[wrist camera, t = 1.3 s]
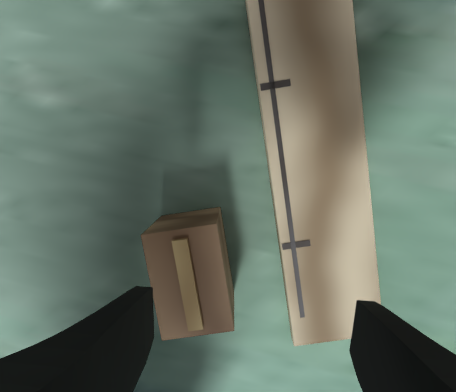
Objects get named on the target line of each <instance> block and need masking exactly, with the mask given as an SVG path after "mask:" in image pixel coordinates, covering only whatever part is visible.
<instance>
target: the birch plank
mask: <svg viewBox="0 0 456 392" xmlns="http://www.w3.org/2000/svg"><path fill="white" fill-rule="evenodd" d="M245 3H246V10H247V18H248V25H249V32H250V39H251V47H252V54H253V61H254V68H255V76H256V83H257V90H258V97H259V105H260V112H261V119H262V126H263V134H264V141H265V148H266V156H267V163H268V170H269V177H270V185H271V192H272V199H273V206H274V214H275V221H276V228H277V235H278V243H279V250H280V257H281V264H282V272H283V279H284V286H285V293H286V301H287V308H288V315H289V323H290V330H291V337H292V341H293V344H294V346H299V345H307V344H314V343H322V342H329V341H337V340H344V339H351V337H352V330H353V323H354V316H355V309H356V301H357V300H363V301H375V302H377V303H379V304H380V305H381V300H380V289H379V278H378V268H377V257H376V246H375V236H374V225H373V214H372V204H371V193H370V182H369V172H368V161H367V150H366V140H365V129H364V118H363V108H362V97H361V86H360V76H359V65H358V54H357V44H356V33H355V22H354V12H353V1H352V0H245Z"/></svg>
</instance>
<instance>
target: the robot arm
mask: <svg viewBox="0 0 456 392" xmlns="http://www.w3.org/2000/svg"><path fill="white" fill-rule="evenodd" d="M153 339H154V315H153V287H140V286H136V287H134V288H132V289H131V290H129V291H127V292H126V293H124V294H123V295H121V296H120V297H118V298H117V299H115V300H114V301H112V302H110V303H109V304H107V305H106V306H104V307H103V308H101V309H100V310H98V311H96V312H95V313H93V314H91V315H90V316H88V317H86V318H85V319H83V320H81V321H79V322H78V323H76V324H74V325H73V326H71V327H69V328H67V329H65V330H64V331H62V332H60V333H58V334H56V335H54V336H52V337H50V338H48V339H46V340H43V341H41V342H39V343H37V344H35V345H33V346H30V347H28V348H25V349H23V350H21V351H18V352H16V353H13V354H11V355H8V356H6V357H3V358H1V359H0V392H133V390H134V388H135V386H136V384H137V382H138V380H139V377H140V375H141V373H142V371H143V368H144V366H145V364H146V361H147V358H148V355H149V352H150V349H151V345H152V342H153ZM350 354H351V358H352V362H353V365H354V369H355V372H356V375H357V378H358V381H359V383H360V386H361V388H362V391H363V392H456V355H455V354H454V353H452V352H450V351H449V350H447V349H446V348H444V347H442V346H441V345H439V344H438V343H436V342H435V341H433V340H432V339H430V338H429V337H427V336H426V335H424V334H423V333H421V332H420V331H418V330H417V329H415V328H414V327H412V326H411V325H410V324H408V323H407V322H405V321H404V320H402V319H401V318H400V317H398V316H397V315H395V314H394V313H392V312H391V311H389V310H388V309H387V308H385V307H384V306H382V305H380V304H379V303H377V302H375V301H363V300H357V301H356V309H355V316H354V323H353V330H352V337H351V344H350Z"/></svg>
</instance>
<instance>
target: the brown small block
mask: <svg viewBox="0 0 456 392" xmlns="http://www.w3.org/2000/svg"><path fill="white" fill-rule="evenodd" d="M141 239H142V244H143V249H144V254H145V259H146V264H147V269H148V274H149V279H150V284H151V287H153V299H154V304H155V309H156V314H157V319H158V324H159V329H160V334H161V339H162V341H163V340H171V339H178V338H185V337H193V336H200V335H207V334H215V333H222V332H229V331H234V288H233V282H232V276H231V270H230V264H229V257H228V251H227V245H226V239H225V233H224V226H223V220H222V214H221V208H220V207H216V208H209V209H203V210H196V211H189V212H183V213H176V214H169V215H163V216H161V217H160V218H159V219H157V220H156V221H155V222H154V223H153V224H152V225H151V226H150V227H149V228H148V229H147V230H146V231H145V232H144V233H142V234H141Z"/></svg>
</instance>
